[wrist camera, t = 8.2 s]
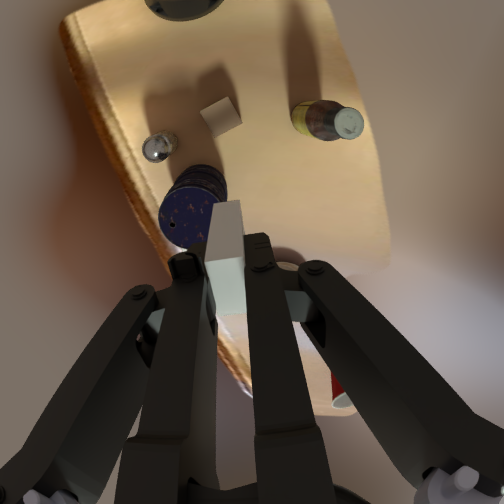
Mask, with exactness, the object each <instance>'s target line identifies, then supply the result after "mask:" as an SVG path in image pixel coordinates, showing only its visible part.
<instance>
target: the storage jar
mask: <svg viewBox="0 0 504 504" xmlns="http://www.w3.org/2000/svg"><path fill="white" fill-rule="evenodd" d="M221 202H227V185H226V181H225V179H224V177H223V175H222V174H221V173H220V172H219V171H218V170H217V169H215V168H214V167H212V166H209V165H203V164H199V165H194V166H191V167H189V168H187V169H186V170H185V171H183V173H182V174H181V175H180V176H179V177H178V178H177V180H176V181H175V183H174V185H173V186H172V187H171V189H170V190H169V191H168V193H167V194H166V196H165V198H164V200H163V202H162V204H161V206H160V208H159V213H158V221H159V226H160V229H161V231H162V233H163V234H164V236H165V237H166V238H167V239H168V240H169V241H170V242H171V243H172V244H174V245H176V246H178V247H180V248H183V249H188V248H189V247H190V246H191V245H192V244H193V243H199V242H205V241H208V235H209V229H210V223H211V217H212V211H213V205H214V204H215V203H221Z"/></svg>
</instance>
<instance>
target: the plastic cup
mask: <svg viewBox="0 0 504 504" xmlns="http://www.w3.org/2000/svg"><path fill="white" fill-rule="evenodd" d="M331 380H332V381H331V383H332V394H333V396H332V397H333V399H332V400H333V401H332V406H333V408H337V409H339V408H346V407H350V406H353V405H354V404H353V403H352V401H351V400H350V398H349V397H348V396H347V394H346V393H345V391H344V390H343V388H342V387H341V385H340V384H339V382H338V381H337V379H336V378H335V376H334V375H333V373H332V372H331Z"/></svg>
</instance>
